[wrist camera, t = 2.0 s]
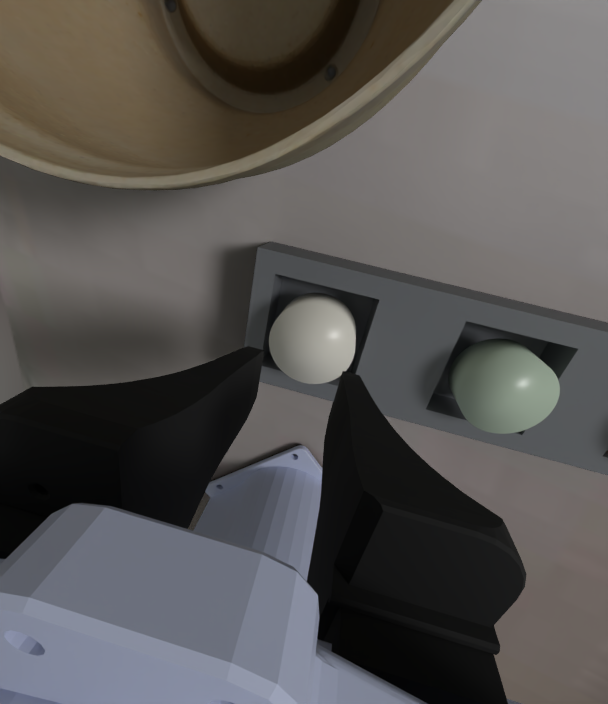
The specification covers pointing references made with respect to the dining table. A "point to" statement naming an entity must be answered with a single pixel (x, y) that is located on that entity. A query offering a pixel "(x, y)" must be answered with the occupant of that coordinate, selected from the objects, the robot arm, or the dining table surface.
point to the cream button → (313, 338)
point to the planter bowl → (201, 82)
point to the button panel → (440, 348)
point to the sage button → (503, 386)
